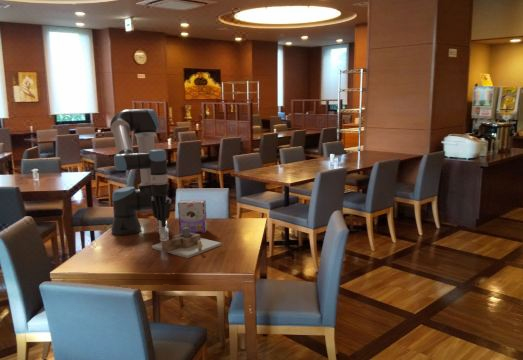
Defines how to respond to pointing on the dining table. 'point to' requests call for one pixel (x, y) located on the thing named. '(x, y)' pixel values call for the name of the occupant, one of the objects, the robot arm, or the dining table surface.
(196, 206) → the candy box
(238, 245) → the dining table surface
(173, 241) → the wooden frame with handle
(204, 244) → the post board
